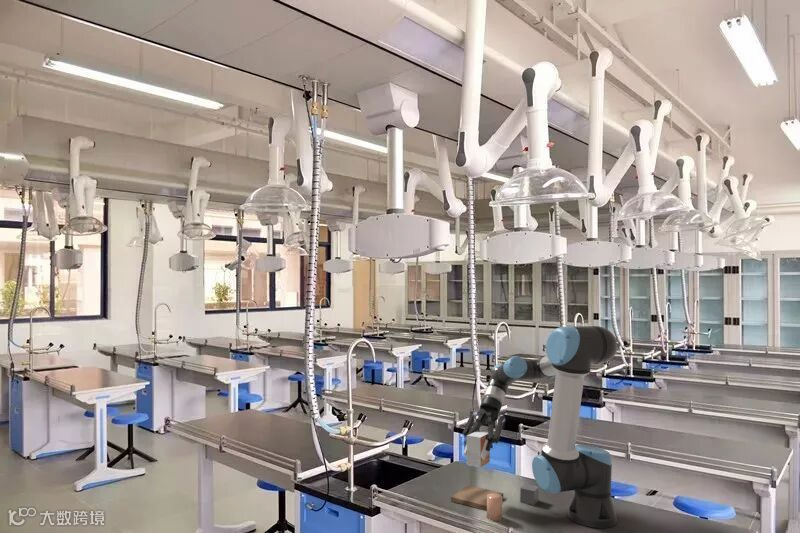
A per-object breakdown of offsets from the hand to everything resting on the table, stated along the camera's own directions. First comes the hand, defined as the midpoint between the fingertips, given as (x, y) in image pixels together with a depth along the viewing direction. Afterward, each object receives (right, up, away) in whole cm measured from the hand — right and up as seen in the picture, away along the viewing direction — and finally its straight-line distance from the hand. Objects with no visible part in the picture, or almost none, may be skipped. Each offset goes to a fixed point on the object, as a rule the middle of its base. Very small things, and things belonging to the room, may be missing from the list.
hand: (473, 456), depth 197 cm
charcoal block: (+20, -17, +2) cm, 26 cm away
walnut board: (+2, -16, +3) cm, 17 cm away
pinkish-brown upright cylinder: (+5, -16, -12) cm, 21 cm away
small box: (+2, -4, +3) cm, 5 cm away
